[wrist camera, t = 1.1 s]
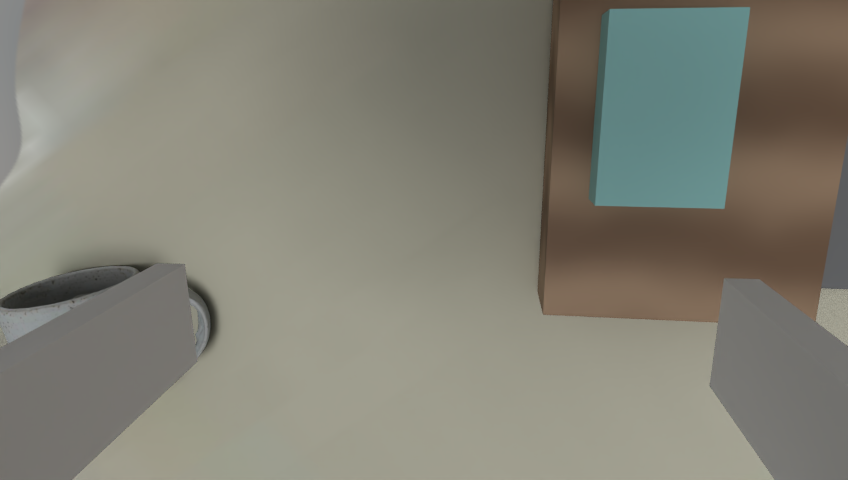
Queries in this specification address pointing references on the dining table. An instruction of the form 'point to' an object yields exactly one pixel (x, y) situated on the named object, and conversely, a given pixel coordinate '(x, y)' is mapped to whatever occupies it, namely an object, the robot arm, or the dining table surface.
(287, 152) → the dining table surface
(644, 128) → the card
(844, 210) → the mat
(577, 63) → the board
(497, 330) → the dining table surface
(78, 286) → the ceramic mug
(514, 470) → the dining table surface
